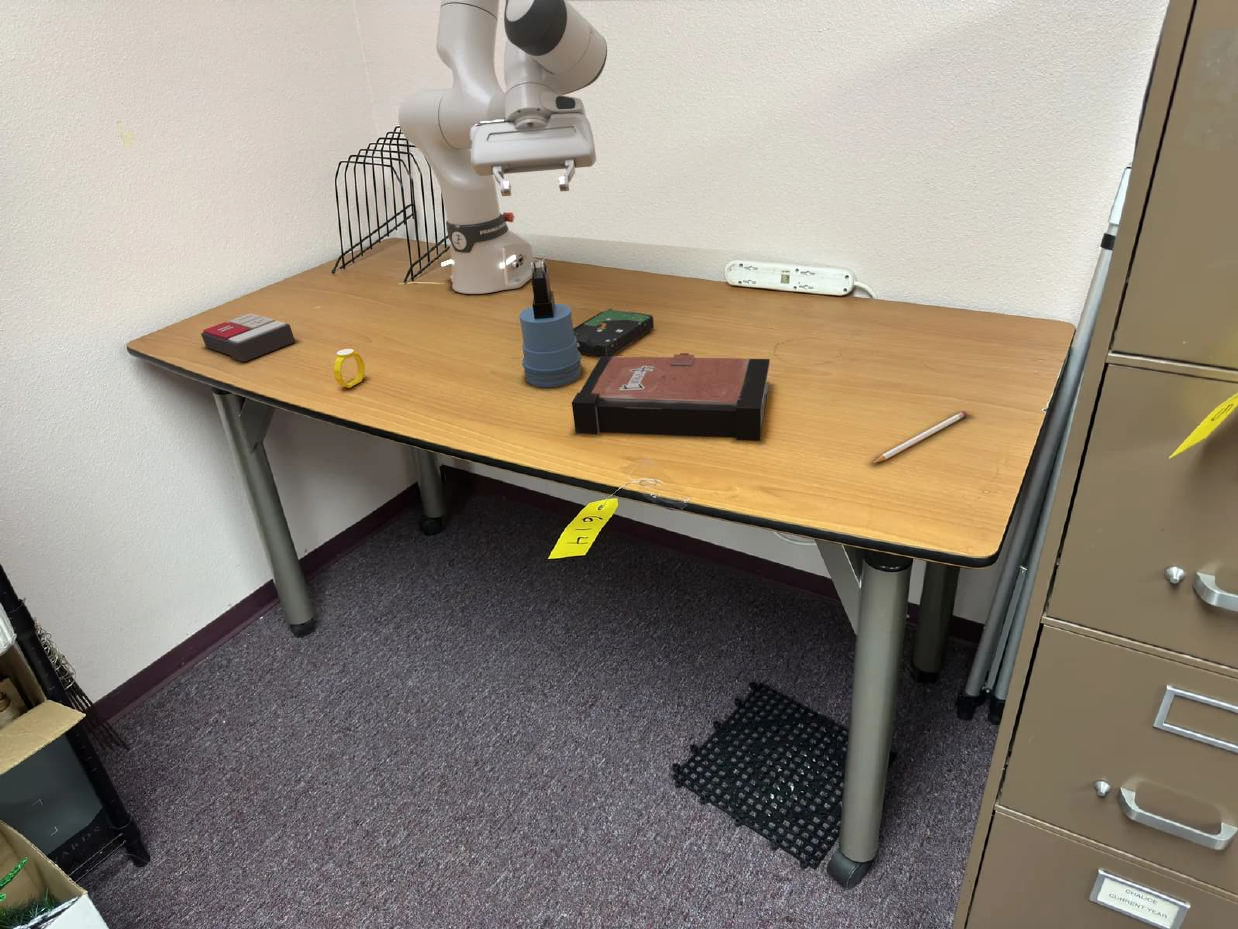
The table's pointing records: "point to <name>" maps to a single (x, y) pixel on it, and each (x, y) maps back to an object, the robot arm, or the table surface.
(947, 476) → the table surface
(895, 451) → the pencil
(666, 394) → the book
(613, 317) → the disk drive
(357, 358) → the watch
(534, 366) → the cup stack
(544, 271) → the clip
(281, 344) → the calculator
